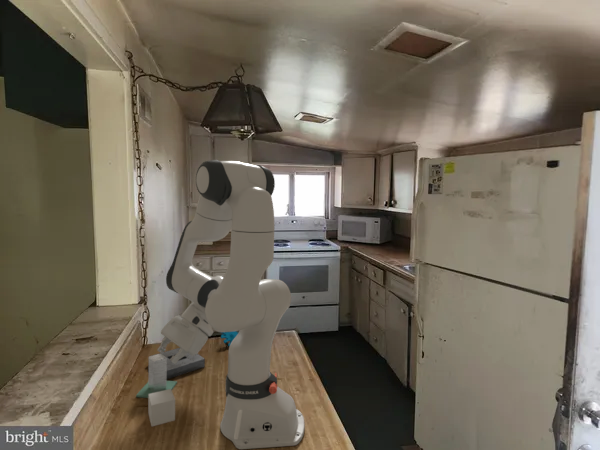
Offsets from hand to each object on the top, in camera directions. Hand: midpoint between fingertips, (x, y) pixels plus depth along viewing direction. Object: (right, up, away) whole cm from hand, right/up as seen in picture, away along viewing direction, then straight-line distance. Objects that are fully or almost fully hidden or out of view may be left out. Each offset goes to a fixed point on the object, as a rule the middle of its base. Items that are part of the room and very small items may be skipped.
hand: (165, 357), depth 112 cm
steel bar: (-2, -9, -1) cm, 10 cm away
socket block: (-2, -9, +15) cm, 18 cm away
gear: (+14, -8, +36) cm, 39 cm away
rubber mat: (-2, -10, -1) cm, 10 cm away
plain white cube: (+4, -12, -14) cm, 19 cm away
